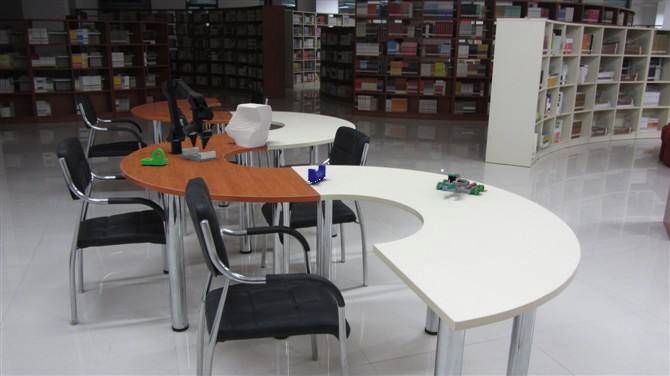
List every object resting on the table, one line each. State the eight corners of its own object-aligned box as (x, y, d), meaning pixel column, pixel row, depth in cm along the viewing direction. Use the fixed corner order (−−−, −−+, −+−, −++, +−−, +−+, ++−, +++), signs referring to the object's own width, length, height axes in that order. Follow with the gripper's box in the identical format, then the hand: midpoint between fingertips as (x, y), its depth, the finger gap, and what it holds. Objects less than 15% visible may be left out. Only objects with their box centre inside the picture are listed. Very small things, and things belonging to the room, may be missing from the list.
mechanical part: (168, 162, 282) (167, 147, 280) (163, 165, 276) (162, 149, 274) (146, 161, 283) (145, 146, 281) (140, 164, 277) (139, 148, 275)
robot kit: (423, 197, 224) (425, 175, 222) (446, 186, 245) (447, 165, 242) (467, 205, 214) (469, 181, 212) (487, 192, 235) (489, 171, 233)
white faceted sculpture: (251, 151, 317) (250, 107, 311) (223, 145, 335) (222, 103, 329) (279, 148, 332) (278, 105, 326) (251, 142, 350) (250, 101, 344)
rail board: (180, 156, 297) (179, 149, 296) (199, 154, 305) (198, 146, 304) (198, 161, 285) (198, 153, 284) (218, 159, 293) (218, 151, 292)
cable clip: (316, 176, 257) (317, 164, 256) (325, 177, 256) (325, 165, 254) (305, 181, 247) (305, 168, 245) (313, 182, 245) (314, 169, 244)
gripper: (174, 118, 291) (176, 147, 294) (194, 122, 278) (195, 152, 282) (192, 117, 298) (194, 145, 302) (212, 120, 286) (213, 150, 290)
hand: (198, 148), depth 294 cm, fingers open, 9 cm apart
